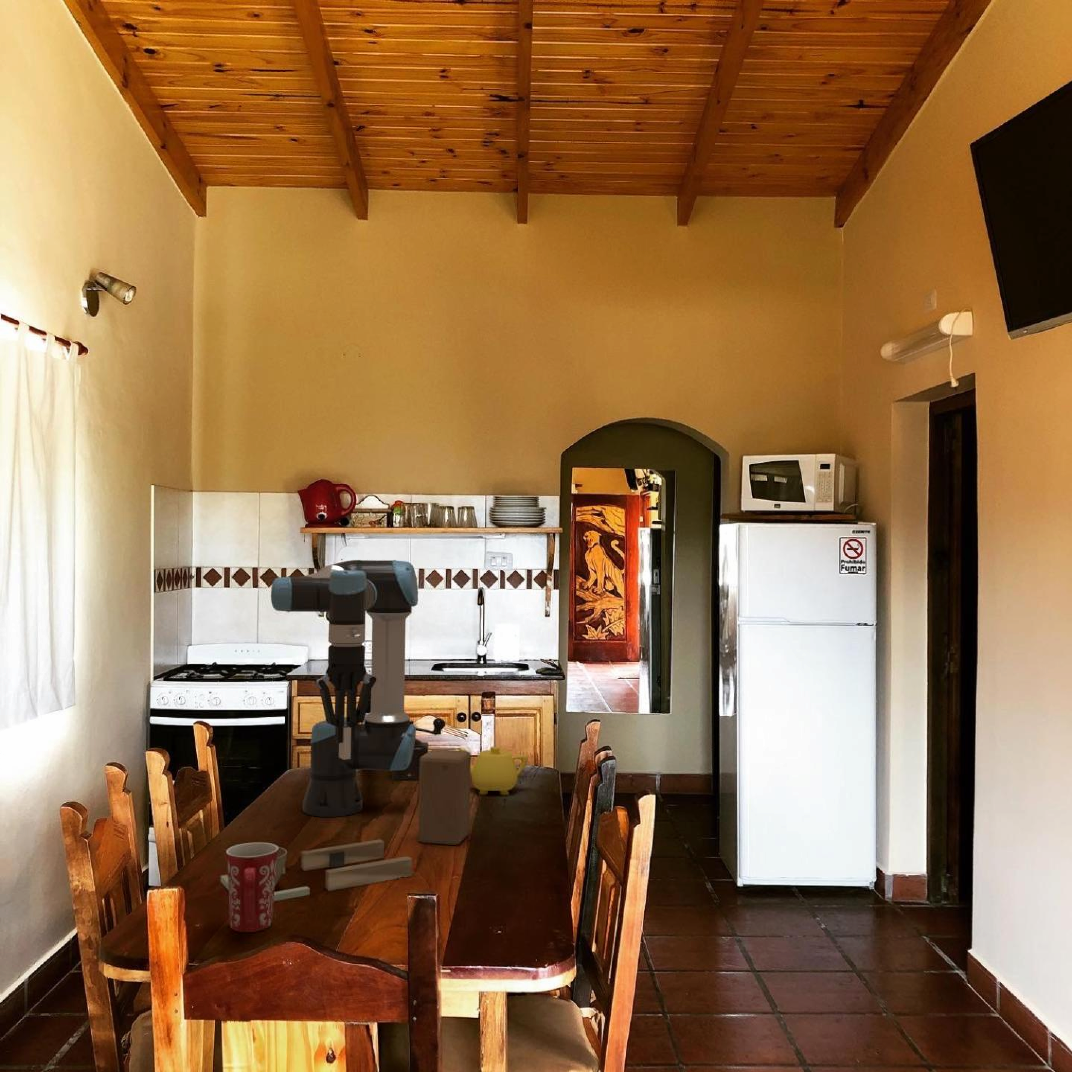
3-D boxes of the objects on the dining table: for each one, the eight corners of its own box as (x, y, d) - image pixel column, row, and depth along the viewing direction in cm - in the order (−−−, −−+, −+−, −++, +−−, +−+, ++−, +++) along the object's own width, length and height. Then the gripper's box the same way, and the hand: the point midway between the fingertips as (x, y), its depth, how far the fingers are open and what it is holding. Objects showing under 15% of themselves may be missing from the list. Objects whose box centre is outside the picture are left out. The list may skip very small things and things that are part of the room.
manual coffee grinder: (391, 780, 286) (392, 719, 286) (393, 772, 297) (394, 713, 297) (444, 780, 287) (445, 719, 287) (445, 772, 298) (446, 713, 298)
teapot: (458, 784, 282) (459, 741, 283) (527, 786, 282) (528, 743, 282) (454, 796, 269) (454, 751, 269) (526, 797, 269) (527, 752, 269)
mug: (227, 916, 178) (229, 842, 179) (278, 914, 180) (280, 840, 180) (218, 944, 166) (219, 864, 166) (273, 941, 168) (274, 862, 168)
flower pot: (296, 884, 196) (297, 849, 196) (265, 901, 187) (266, 863, 187) (255, 878, 200) (255, 842, 200) (222, 893, 190) (223, 856, 190)
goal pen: (220, 881, 197) (220, 875, 197) (282, 871, 204) (282, 865, 204) (244, 906, 183) (244, 900, 183) (309, 894, 190) (309, 888, 190)
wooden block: (458, 846, 223) (460, 758, 223) (416, 843, 225) (418, 756, 225) (470, 834, 233) (471, 750, 233) (430, 831, 235) (431, 747, 235)
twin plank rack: (301, 868, 206) (301, 851, 206) (380, 855, 216) (380, 839, 216) (329, 891, 193) (329, 873, 193) (411, 875, 202) (412, 858, 202)
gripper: (323, 647, 197) (321, 764, 196) (383, 644, 204) (381, 758, 203) (310, 643, 203) (308, 757, 203) (368, 641, 210) (366, 751, 210)
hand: (344, 757), depth 203 cm, fingers closed
